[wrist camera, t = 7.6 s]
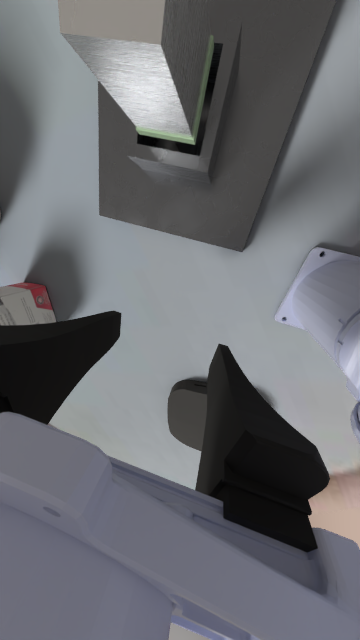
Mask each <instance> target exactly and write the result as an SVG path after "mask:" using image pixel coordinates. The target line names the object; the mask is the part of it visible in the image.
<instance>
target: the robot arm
mask: <svg viewBox="0 0 360 640" xmlns="http://www.w3.org/2000/svg"><path fill="white" fill-rule="evenodd" d="M321 252H324V255H323V256H322V257H320V253H321ZM283 317H286V319H285V320H282V318H283ZM274 318H275V320H276V321H278V322H281V323H284V324H288V325H291V326H294V327H298V328H301V329H304V330H307V331H308V332H309V333H310V334H311V336H312V337H313V338H314V339H315V340H316V341H317V342H318V344H319V345H320V346H321V347H322V348H323V349H324V351H325V352H326V353H327V354H328V355H329V356H330V357H331V359H332V360H333V361H334V362H335V363H336V364H337V365H338V367H339V368H340V369H341V370H342V371H343V372H344V374H345V375H346V378H347V383H346V387H347V389H348V390H349V391H350V392H351V394H352V395H353V396H354V397H355V399H356V400H357V401H358V402H359V403H357V404H356V406H355V407H354V409H353V411H352V413H351V426H352V429H353V432H354V434H355V436H356V438H357V440H358V442H359V443H360V257H358V256H354V255H350V254H346V253H342V252H338V251H334V250H330V249H325V248H321V247H315V248H313V249H312V250H311V251H310V253H309V254H308V256H307V258H306V260H305V262H304V263H303V265H302V267H301V269H300V271H299V272H298V274H297V276H296V278H295V280H294V281H293V283H292V285H291V287H290V289H289V290H288V292H287V294H286V296H285V298H284V299H283V301H282V303H281V305H280V307H279V308H278V310H277V312H276V314H275V316H274ZM120 326H121V313H119V312H116V311H109V312H104V313H100V314H95V315H91V316H87V317H82V318H78V319H73V320H68V321H61V322H54V323H45V324H32V325H0V640H168V638H169V630H170V623H173V624H176V625H178V626H180V627H183V628H185V629H187V630H190V631H192V632H194V633H196V634H199V635H201V636H203V637H206V638H208V639H210V640H360V550H359V547H358V545H357V543H355V542H354V541H353V540H350V539H348V538H345V537H343V536H340V535H338V534H335V533H332V532H330V531H327V530H325V529H321V528H312V527H311V525H310V521H309V518H308V515H311V514H312V511H311V508H310V505H309V502H308V499H310V498H311V497H313V496H314V495H316V494H318V493H319V492H321V491H322V490H323V489H324V488H325V487H327V485H328V483H329V480H330V478H329V473H328V471H327V469H326V467H325V465H324V462H323V460H322V458H321V456H320V454H319V452H318V450H317V448H316V446H315V445H314V444H313V443H311V442H310V441H309V440H308V439H306V438H305V437H304V436H303V435H302V434H300V433H299V432H298V431H297V430H296V429H294V428H293V427H292V426H291V425H290V424H289V423H288V422H287V421H285V420H284V419H283V418H282V417H281V416H280V415H279V414H278V413H277V412H276V411H275V410H274V409H273V408H272V407H271V406H270V405H269V404H268V403H267V402H266V401H265V400H264V399H263V397H262V396H261V395H260V394H259V393H258V392H257V390H256V389H255V388H254V387H253V386H252V384H251V383H250V382H249V380H248V379H247V377H246V376H245V375H244V373H243V372H242V370H241V369H240V367H239V365H238V364H237V362H236V360H235V358H234V357H233V355H232V353H231V351H230V349H229V348H228V346H225V345H222V344H219V345H218V347H217V350H216V352H215V354H214V357H213V359H212V362H211V364H210V368H209V374H208V387H207V415H206V423H205V431H204V438H203V445H202V452H201V459H200V465H199V471H198V477H197V483H196V489H195V490H193V489H190V488H188V487H185V486H183V485H180V484H178V483H175V482H173V481H170V480H168V479H165V478H163V477H160V476H158V475H155V474H153V473H150V472H148V471H145V470H143V469H140V468H138V467H135V466H132V465H130V464H127V463H125V462H122V461H120V460H117V459H115V458H112V457H110V456H107V455H106V454H105V453H104V452H103V451H102V450H101V449H100V448H99V447H97V446H95V445H93V444H91V443H90V442H88V441H86V440H84V439H81V438H79V437H76V436H74V435H71V434H69V433H66V432H64V431H61V430H59V429H56V428H53V427H51V426H48V425H47V424H48V423H49V422H50V420H51V419H52V417H53V416H54V414H55V413H56V411H57V410H58V409H59V407H60V406H61V405H62V403H63V402H64V400H65V399H66V398H67V396H68V395H69V394H70V393H71V391H72V390H73V389H74V387H75V386H76V385H77V384H78V382H79V381H80V380H81V379H82V378H83V376H84V375H85V374H86V373H87V372H88V371H89V370H90V368H91V367H92V366H93V365H94V364H95V363H97V362H98V361H99V360H100V359H101V358H102V357H103V356H104V355H105V354H106V353H107V352H108V351H109V350H110V348H111V347H112V346H113V345H114V344H115V342H116V341H117V340H118V338H119V337H120Z"/></svg>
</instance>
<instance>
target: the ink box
mask: <svg viewBox="0 0 360 640" xmlns="http://www.w3.org/2000/svg"><path fill="white" fill-rule="evenodd" d="M54 322H56V318H55V315H54V312H53V309H52V306H51V303H50V300H49V297H48V293H47V290H46V287H45V286H44V285H40V284H34V283H18V284H13V285H8V286H3V287H0V325H32V324H45V323H54Z"/></svg>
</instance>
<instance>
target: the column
mask: <svg viewBox="0 0 360 640" xmlns="http://www.w3.org/2000/svg"><path fill="white" fill-rule="evenodd" d="M58 7H59V21H60V33H61V34H62V36H63V37H64V38H65V39H66V40H67V42H68V43H69V44H70V45H71V47H72V48H73V49H74V50H75V52H76V53H77V54H78V55H79V57H80V58H81V59H82V60H83V61H84V63H85V64H86V65H87V66H88V68H89V69H90V70H91V71H92V73H93V74H94V75H95V76H96V78H97V79H98V80H99V81H100V83H101V84H102V85H103V86H104V87H105V89H106V90H107V91H108V92H109V94H110V95H111V96H112V97H113V99H114V100H115V101H116V102H117V104H118V105H119V106H120V107H121V108H122V110H123V111H124V112H125V113H126V115H127V116H128V117H129V118H130V120H131V121H132V122H133V123H134V125H135V126H136V131H137V132H138V133H139V134H140V135H146V136H151V137H156V138H162V139H167V140H172V141H177V142H183V143H188V144H193V145H195V143H196V138H197V133H198V128H199V122H200V117H201V112H202V107H203V102H204V96H205V91H206V86H207V81H208V76H209V70H210V65H211V60H212V55H213V49H214V38H213V35H211V33H210V20H209V8H208V0H58Z"/></svg>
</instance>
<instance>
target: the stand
mask: <svg viewBox="0 0 360 640" xmlns="http://www.w3.org/2000/svg"><path fill="white" fill-rule="evenodd" d="M335 3H336V0H208V8H209V20H210V33H211V35H213V38H214V49H213V55H212V60H211V65H210V70H209V76H208V81H207V86H206V91H205V96H204V102H203V107H202V112H201V117H200V122H199V128H198V133H197V138H196V143H195V145H193V144H188V143H183V142H177V141H172V140H167V139H162V138H156V137H151V136H146V135H140V134H139V133H138V132H137V131H136V126H135V125H134V123H133V122H132V121H131V120H130V118H129V117H128V116H127V115H126V113H125V112H124V111H123V110H122V108H121V107H120V106H119V105H118V104H117V102H116V101H115V100H114V99H113V97H112V96H111V95H110V94H109V92H108V91H107V90H106V89H105V87H104V86H103V85H102V84H101V83H100V81H99V80H98V106H99V215H101V216H105V217H108V218H112V219H116V220H120V221H124V222H128V223H132V224H135V225H139V226H143V227H147V228H151V229H155V230H158V231H162V232H166V233H170V234H174V235H178V236H182V237H185V238H189V239H193V240H197V241H201V242H205V243H209V244H212V245H216V246H220V247H224V248H228V249H232V250H236V251H239V252H242V251H243V249H244V246H245V243H246V241H247V238H248V235H249V233H250V230H251V227H252V225H253V222H254V219H255V217H256V214H257V211H258V209H259V206H260V203H261V201H262V198H263V195H264V193H265V190H266V187H267V185H268V182H269V179H270V177H271V174H272V171H273V168H274V166H275V163H276V160H277V158H278V155H279V152H280V150H281V147H282V144H283V142H284V139H285V136H286V134H287V131H288V128H289V126H290V123H291V120H292V118H293V115H294V112H295V110H296V107H297V104H298V102H299V99H300V96H301V94H302V91H303V88H304V86H305V83H306V80H307V78H308V75H309V72H310V70H311V67H312V64H313V62H314V59H315V56H316V53H317V51H318V48H319V45H320V43H321V40H322V37H323V35H324V32H325V29H326V27H327V24H328V21H329V19H330V16H331V13H332V11H333V8H334V5H335Z"/></svg>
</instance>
